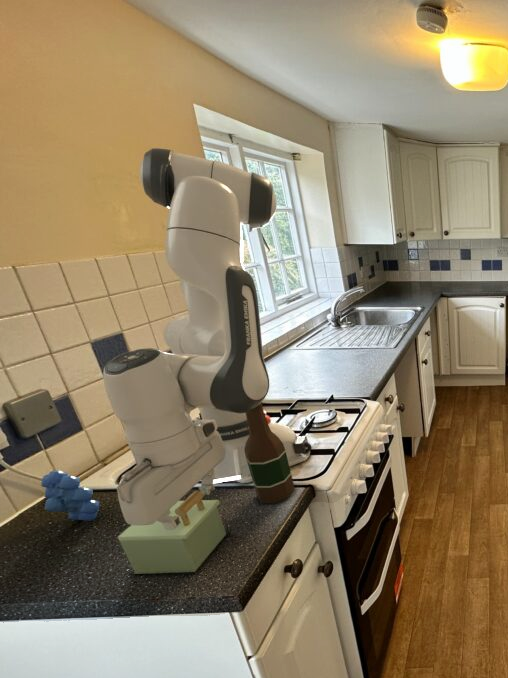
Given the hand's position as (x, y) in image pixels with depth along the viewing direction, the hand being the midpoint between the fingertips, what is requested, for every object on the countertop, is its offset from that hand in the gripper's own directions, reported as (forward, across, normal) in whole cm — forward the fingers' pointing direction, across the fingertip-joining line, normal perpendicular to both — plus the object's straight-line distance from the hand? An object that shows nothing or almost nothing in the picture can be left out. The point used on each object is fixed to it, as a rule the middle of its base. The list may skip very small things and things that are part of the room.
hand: (192, 508), depth 75 cm
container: (+10, 0, +4) cm, 11 cm away
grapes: (+10, +9, +33) cm, 36 cm away
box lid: (+2, 0, +4) cm, 5 cm away
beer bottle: (+11, +17, -4) cm, 21 cm away
